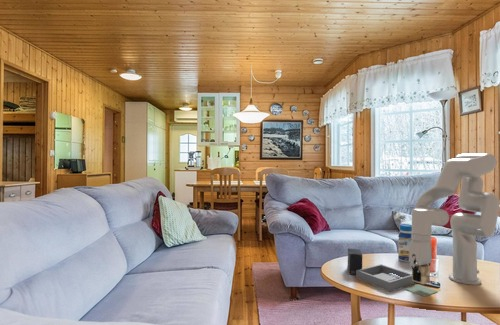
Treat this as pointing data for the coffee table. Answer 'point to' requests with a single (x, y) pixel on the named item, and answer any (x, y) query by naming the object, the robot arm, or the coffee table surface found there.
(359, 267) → the small box
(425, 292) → the mat
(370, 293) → the coffee table surface
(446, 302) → the coffee table surface
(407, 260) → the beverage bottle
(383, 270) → the gray square tray
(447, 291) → the coffee table surface
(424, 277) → the birch block
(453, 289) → the coffee table surface
